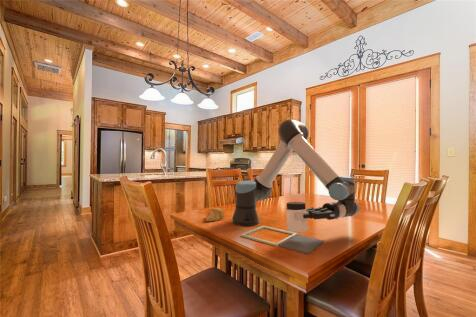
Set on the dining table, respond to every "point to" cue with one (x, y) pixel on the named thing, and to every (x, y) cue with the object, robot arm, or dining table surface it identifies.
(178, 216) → the dining table surface
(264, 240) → the frame
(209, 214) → the croissant
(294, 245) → the mat
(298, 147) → the robot arm
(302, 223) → the jar
